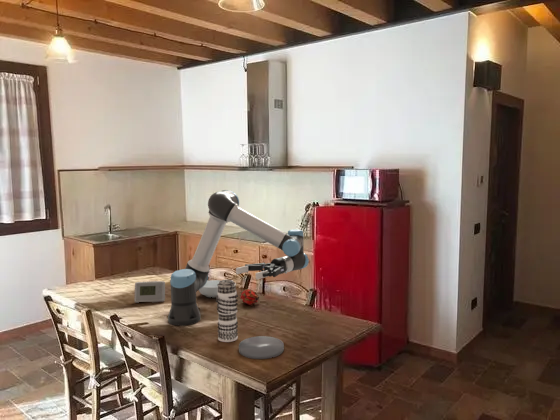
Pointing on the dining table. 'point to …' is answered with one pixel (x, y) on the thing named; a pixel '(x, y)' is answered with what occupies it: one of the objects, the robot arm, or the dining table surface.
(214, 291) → the cereal bowl
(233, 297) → the decorative candle
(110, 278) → the dining table surface
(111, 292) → the dining table surface
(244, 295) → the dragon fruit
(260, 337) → the slate plate
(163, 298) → the digital clock
